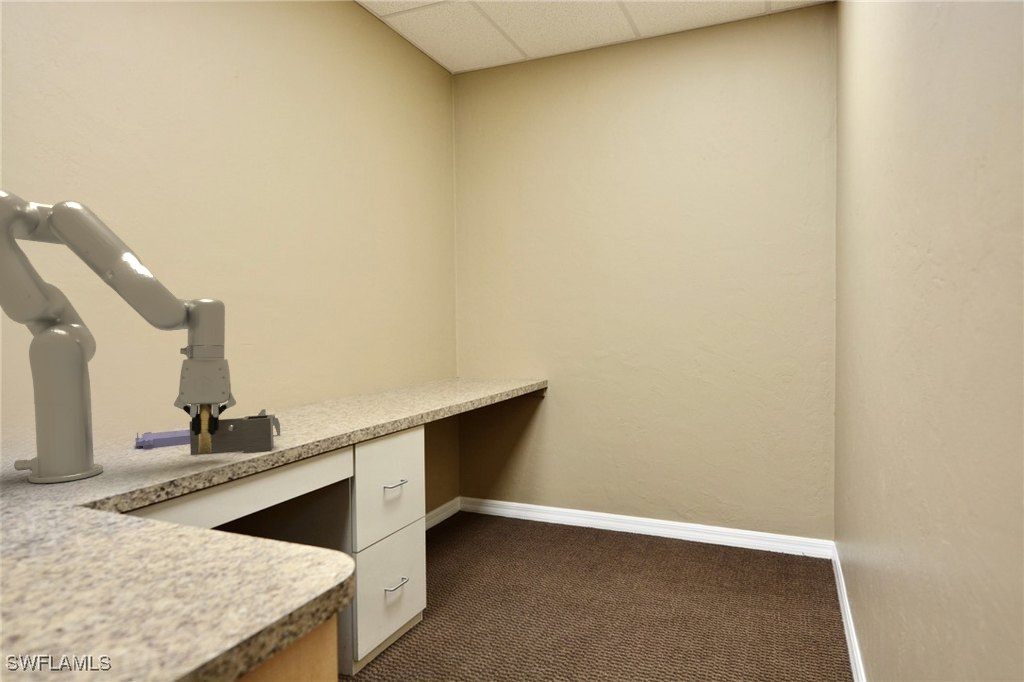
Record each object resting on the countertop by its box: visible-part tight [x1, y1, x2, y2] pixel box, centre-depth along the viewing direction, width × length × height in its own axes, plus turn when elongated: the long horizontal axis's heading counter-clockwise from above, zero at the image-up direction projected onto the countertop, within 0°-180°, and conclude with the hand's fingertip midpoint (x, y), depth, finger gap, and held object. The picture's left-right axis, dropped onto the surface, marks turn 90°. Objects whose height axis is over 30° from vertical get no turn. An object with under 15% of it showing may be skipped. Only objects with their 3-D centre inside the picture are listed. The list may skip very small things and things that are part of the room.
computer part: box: [134, 429, 190, 450], centre depth 167 cm, size 30×4×15 cm
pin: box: [198, 404, 213, 454], centre depth 138 cm, size 3×3×12 cm
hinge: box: [189, 409, 275, 456], centre depth 155 cm, size 18×18×8 cm
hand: (205, 433), depth 138 cm, fingers closed on pin, 2 cm apart
